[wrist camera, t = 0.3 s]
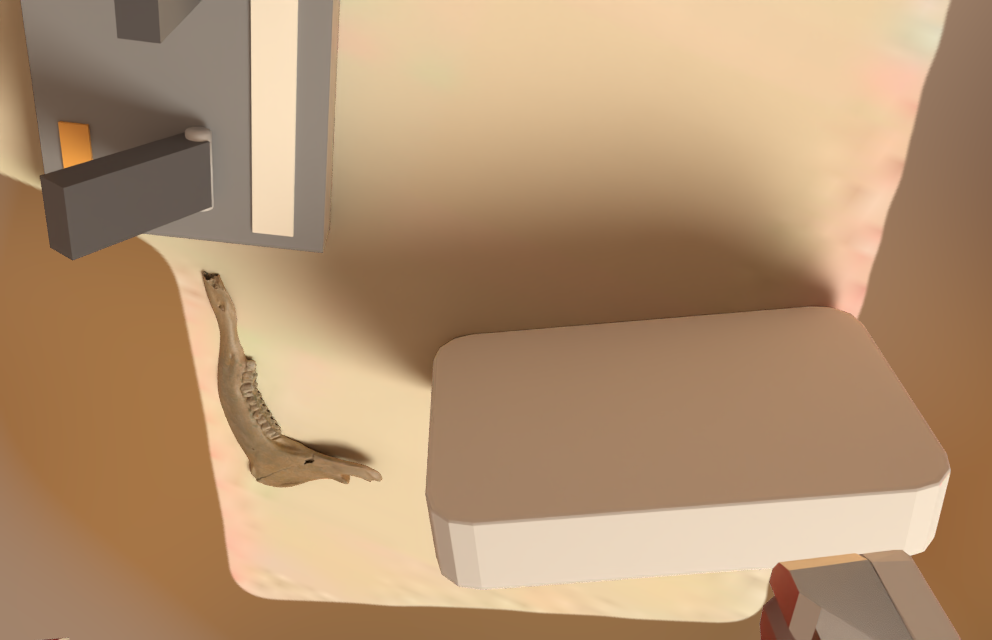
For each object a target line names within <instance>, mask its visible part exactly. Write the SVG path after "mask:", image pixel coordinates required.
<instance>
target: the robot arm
mask: <svg viewBox="0 0 992 640" xmlns="http://www.w3.org/2000/svg"><path fill="white" fill-rule="evenodd" d="M769 583H770V585H771V588H772V590H773V592H774V595H775V596H774V597H773V598H771V599H770V600H769V601H768V602H767V603H766V604H764V605H763V609H762V614H761V619H760V635H761V640H961V638H960V636H959V635H958V633H957V632H956V630H955V629H954V627H953V625H952V623H951V622H950V620H949V618H948V617H947V615H946V614H945V612H944V610H943V608H942V607H941V605H940V604H939V602H938V600H937V599H936V597H935V595H934V594H933V592H932V590H931V589H930V587H929V586H928V584H927V582H926V581H925V579H924V577H923V576H922V574H921V573H920V571H919V569H918V567H917V566H916V564H915V562H914V561H913V559H912V558H911V556H909V555H908V554H907V553H906V552H904V551H903V550H889V551H881V552H873V553H865V554H856V553H852V554H844V555H835V556H827V557H819V558H810V559H802V560H794V561H785V562H779V563H778V564H777V565H776V566H775V567H774V568H773V570H772V573H771V577H770V581H769ZM44 640H70V639H69V638H68V637H67V638H56V639H44Z"/></svg>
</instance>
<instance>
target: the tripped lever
mask: <svg viewBox="0 0 992 640" xmlns="http://www.w3.org/2000/svg"><path fill="white" fill-rule="evenodd" d="M201 1H202V0H114V5H115V17H116V29H117V38H119V39H127V40H135V41H143V42H151V43H159V44H161V43H162V42H163V41H164V40H165V39H166V38H167V37H168V35H169V34H170V33H171V32H172V31H173V30H174V29H175V28H176V27H177V26H178V25H179V24H180V23H181V22H182V21H183V20H184V19H185V18H186V17H187V15H188V14H189V13H190V12H191V11H192V10H193V9H194V8H195V7H196V6H197V5H198V4H199V3H200V2H201Z"/></svg>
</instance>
